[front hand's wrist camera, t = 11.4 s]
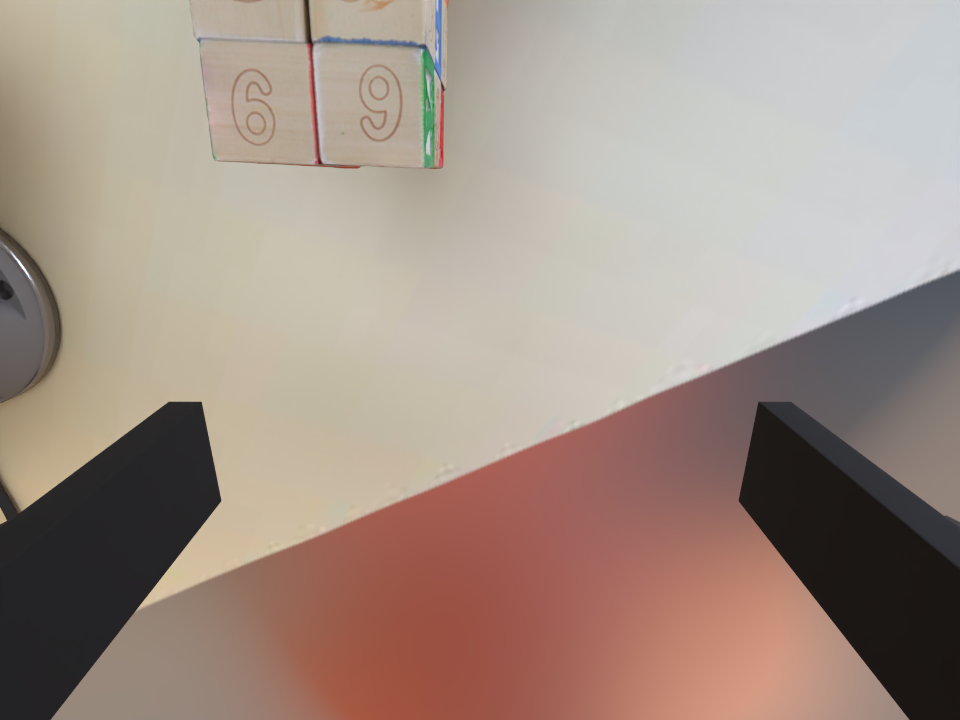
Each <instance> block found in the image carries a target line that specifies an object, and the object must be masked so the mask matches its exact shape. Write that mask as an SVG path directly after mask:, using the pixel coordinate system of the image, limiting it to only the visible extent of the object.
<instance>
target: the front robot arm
mask: <svg viewBox="0 0 960 720" xmlns="http://www.w3.org/2000/svg"><path fill="white" fill-rule="evenodd" d="M59 336H60V328H59V318H58V313H57V308H56V305H55V302H54V299H53V296H52V294H51V291H50V289H49V287H48V285H47V283H46V281H45V279H44V277H43V276H42V274H41V272H40V271H39V269H38V268H37V266H36V265H35V264H34V262H33V261H32V260H31V258H30V257H29V256H28V255H27V254H26V252H25V251H24V250H23V249H22V248H21V247H20V246H19V245H18V244H17V243H16V242H15V241H14V240H13V239H12V238H11V237H9V236H8V235H7V234H6V233H5V232H3V231H2V230H1V229H0V403H2V402H4V401H6V400H9V399H11V398H13V397H15V396H17V395H19V394H21V393H23V392H25V391H27V390H29V389H30V388H32V387H33V386H34V385H36V384H37V383H38V382H39V381H40V380H41V379H42V378H43V377H44V376H45V375H46V373H47V372H48V371H49V369H50V368H51V366H52V364H53V362H54V359H55V357H56V354H57V350H58V345H59ZM220 502H221V497H220V492H219V487H218V482H217V477H216V472H215V467H214V462H213V457H212V452H211V447H210V442H209V437H208V432H207V427H206V422H205V417H204V412H203V407H202V402H168V403H167V404H165V405H164V406H163V407H161V408H160V409H159V410H157V411H156V412H155V413H153V414H152V415H151V416H149V417H148V418H147V419H145V420H144V421H143V422H141V423H140V424H139V425H137V426H136V427H135V428H133V429H132V430H131V431H129V432H128V433H127V434H125V435H124V436H123V437H121V438H120V439H119V440H117V441H116V442H115V443H113V444H112V445H111V446H109V447H108V448H106V449H105V450H104V451H102V452H101V453H100V454H98V455H97V456H96V457H94V458H93V459H92V460H90V461H89V462H88V463H86V464H85V465H84V466H82V467H81V468H80V469H78V470H77V471H76V472H74V473H73V474H72V475H70V476H69V477H68V478H66V479H65V480H64V481H62V482H61V483H60V484H58V485H57V486H56V487H54V488H53V489H52V490H50V491H49V492H48V493H46V494H45V495H43V496H42V497H41V498H39V499H38V500H37V501H35V502H34V503H33V504H31V505H30V506H29V507H27V508H26V509H25V510H23V511H22V512H21V513H19V514H18V513H17V511H16V509H15V507H14V505H13V503H12V502H11V500H10V498H9V497H8V495H7V493H6V492H5V490H4V488H3V487H2V485H1V483H0V508H1V509H2V511H3V513H4V515H5V517H6V519H7V521H6V522H4V523H2V524H0V720H51V718H52V717H53V716H54V715H55V713H56V712H57V711H58V709H59V708H60V707H61V706H62V704H63V703H64V702H65V701H66V699H67V698H68V697H69V695H70V694H71V693H72V692H73V690H74V689H75V688H76V686H77V685H78V684H79V683H80V681H81V680H82V679H83V677H84V676H85V675H86V674H87V672H88V671H89V670H90V669H91V667H92V666H93V665H94V663H95V662H96V661H97V660H98V658H99V657H100V656H101V654H102V653H103V652H104V651H105V649H106V648H107V647H108V645H109V644H110V643H111V642H112V640H113V639H114V638H115V637H116V635H117V634H118V633H119V631H120V630H121V629H122V628H123V626H124V625H125V624H126V622H127V621H128V620H129V619H130V617H131V616H132V615H133V613H134V612H135V611H136V610H137V608H138V607H139V606H140V604H141V603H142V602H143V601H144V599H145V598H146V597H147V596H148V594H149V593H150V592H151V590H152V589H153V588H154V587H155V585H156V584H157V583H158V581H159V580H160V579H161V578H162V576H163V575H164V574H165V572H166V571H167V570H168V569H169V567H170V566H171V565H172V564H173V562H174V561H175V560H176V558H177V557H178V556H179V555H180V553H181V552H182V551H183V549H184V548H185V547H186V546H187V544H188V543H189V542H190V540H191V539H192V538H193V537H194V535H195V534H196V533H197V532H198V530H199V529H200V528H201V526H202V525H203V524H204V523H205V521H206V520H207V519H208V517H209V516H210V515H211V514H212V512H213V511H214V510H215V508H216V507H217V506H218V505H219V503H220ZM739 502H740V503H741V505H742V506H743V507H744V508H745V510H746V511H747V512H748V514H749V515H750V516H751V517H752V519H753V520H754V521H755V523H756V524H757V525H758V526H759V528H760V529H761V530H762V532H763V533H764V534H765V535H766V537H767V538H768V539H769V540H770V542H771V543H772V544H773V545H774V547H775V548H776V549H777V551H778V552H779V553H780V555H781V556H782V557H783V558H784V560H785V561H786V562H787V564H788V565H789V566H790V567H791V569H792V570H793V571H794V572H795V574H796V575H797V576H798V578H799V579H800V580H801V581H802V583H803V584H804V585H805V586H806V588H807V589H808V590H809V592H810V593H811V594H812V596H813V597H814V598H815V599H816V601H817V602H818V603H819V604H820V606H821V607H822V608H823V610H824V611H825V612H826V613H827V615H828V616H829V617H830V619H831V620H832V621H833V622H834V624H835V625H836V626H837V627H838V629H839V630H840V631H841V633H842V634H843V635H844V637H845V638H846V639H847V640H848V642H849V643H850V644H851V645H852V647H853V648H854V649H855V651H856V652H857V653H858V654H859V656H860V657H861V658H862V660H863V661H864V662H865V663H866V665H867V666H868V667H869V669H870V670H871V671H872V672H873V674H874V675H875V676H876V677H877V679H878V680H879V681H880V683H881V684H882V685H883V686H884V688H885V689H886V690H887V692H888V693H889V694H890V695H891V697H892V698H893V699H894V701H895V702H896V703H897V704H898V706H899V707H900V708H901V709H902V711H903V712H904V713H905V715H906V716H907V717H908V718H909V720H960V522H958V521H956V520H954V519H952V518H950V517H948V516H943V515H942V514H941V513H939V512H938V511H937V510H935V509H934V508H933V507H931V506H930V505H929V504H927V503H926V502H924V501H923V500H922V499H921V498H919V497H918V496H917V495H915V494H914V493H912V492H911V491H910V490H908V489H907V488H906V487H904V486H903V485H902V484H900V483H899V482H898V481H896V480H895V479H894V478H892V477H891V476H890V475H888V474H887V473H886V472H884V471H883V470H882V469H880V468H879V467H878V466H876V465H875V464H874V463H872V462H871V461H870V460H868V459H867V458H865V457H864V456H863V455H862V454H860V453H859V452H858V451H856V450H855V449H853V448H852V447H851V446H849V445H848V444H847V443H845V442H844V441H843V440H841V439H840V438H839V437H837V436H836V435H835V434H833V433H832V432H831V431H829V430H828V429H827V428H825V427H824V426H823V425H821V424H820V423H819V422H817V421H816V420H815V419H813V418H812V417H811V416H809V415H808V414H807V413H805V412H804V411H803V410H801V409H800V408H799V407H797V406H796V405H795V404H793V403H792V402H758V407H757V412H756V417H755V422H754V427H753V432H752V437H751V442H750V447H749V452H748V457H747V462H746V467H745V472H744V477H743V482H742V487H741V492H740V497H739Z"/></svg>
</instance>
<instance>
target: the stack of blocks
mask: <svg viewBox="0 0 960 720" xmlns="http://www.w3.org/2000/svg"><path fill="white" fill-rule="evenodd" d="M189 1H190V9H191V16H192V24H193V31H194V36H195V38H196V39H197V40H198V41H199V43H200V58H201V67H202V76H203V83H204V90H205V98H206V107H207V116H208V121H209V131H210V138H211V146H212V153H213V157H214V160H215V161H225V162H245V163H261V164H285V165H301V166H321V167H335V168H360V166H379V167H402V168H430V169H439V168H442V167H443V118H444V96H443V91H444V90H445V89H446V68H447V18H448V17H447V8H448V0H189Z"/></svg>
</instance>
